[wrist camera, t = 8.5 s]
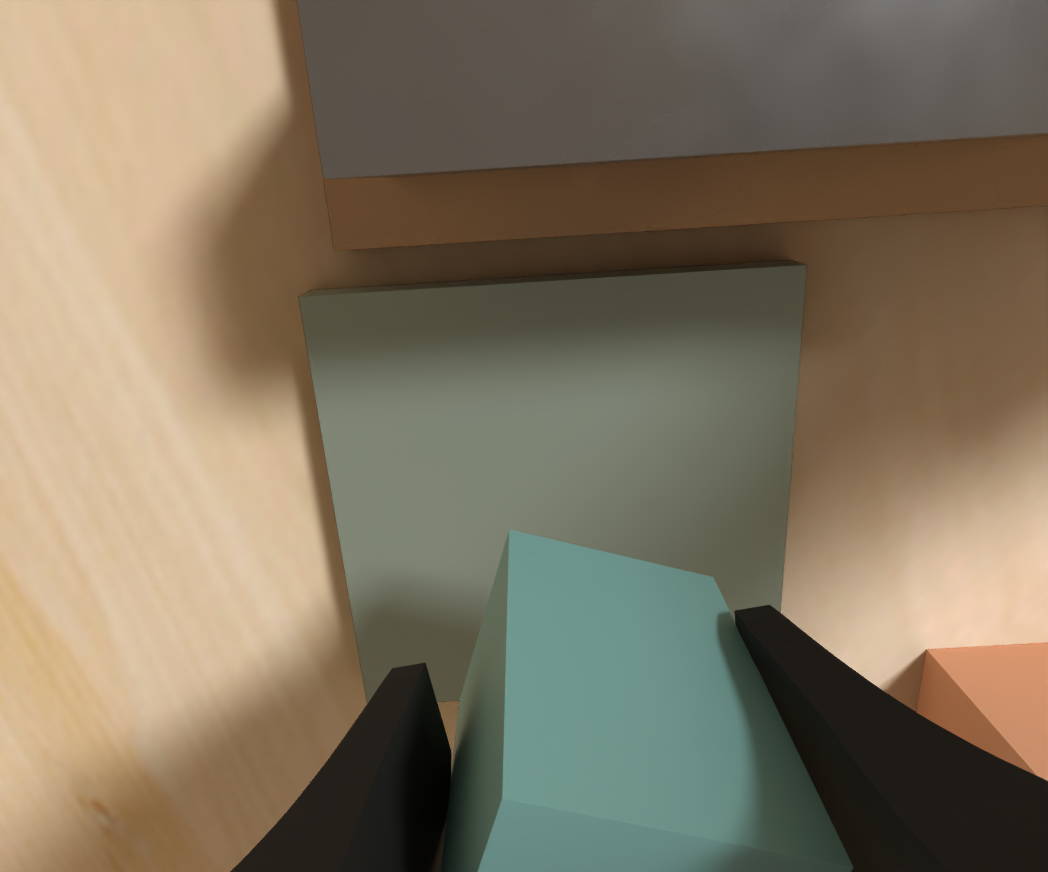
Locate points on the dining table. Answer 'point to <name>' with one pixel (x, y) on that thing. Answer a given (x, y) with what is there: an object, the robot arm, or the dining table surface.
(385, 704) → the robot arm
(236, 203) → the dining table surface
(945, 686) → the terracotta block
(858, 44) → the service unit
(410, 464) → the pad
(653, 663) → the block
